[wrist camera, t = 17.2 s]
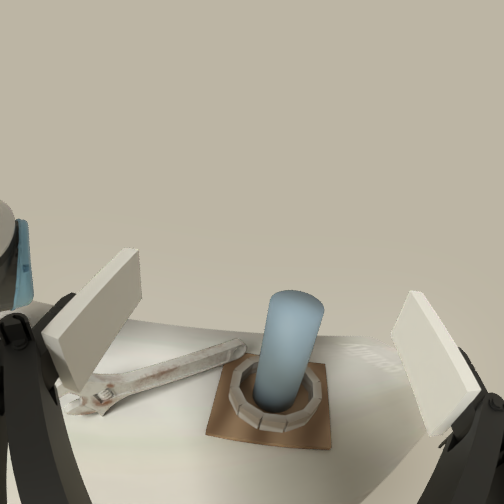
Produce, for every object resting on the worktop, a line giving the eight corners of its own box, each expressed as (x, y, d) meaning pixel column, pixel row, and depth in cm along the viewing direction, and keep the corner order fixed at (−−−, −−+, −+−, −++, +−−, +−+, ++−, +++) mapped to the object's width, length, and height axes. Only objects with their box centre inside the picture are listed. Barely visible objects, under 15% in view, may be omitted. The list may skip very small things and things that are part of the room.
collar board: (205, 434, 32) (205, 422, 30) (227, 353, 46) (228, 338, 45) (329, 449, 31) (337, 438, 29) (323, 367, 45) (329, 353, 44)
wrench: (243, 368, 46) (62, 426, 26) (236, 361, 47) (59, 416, 28) (251, 329, 43) (44, 386, 24) (243, 323, 44) (42, 375, 25)
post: (250, 409, 36) (268, 317, 29) (254, 378, 41) (271, 287, 34) (294, 414, 35) (327, 325, 29) (294, 383, 41) (321, 294, 34)
